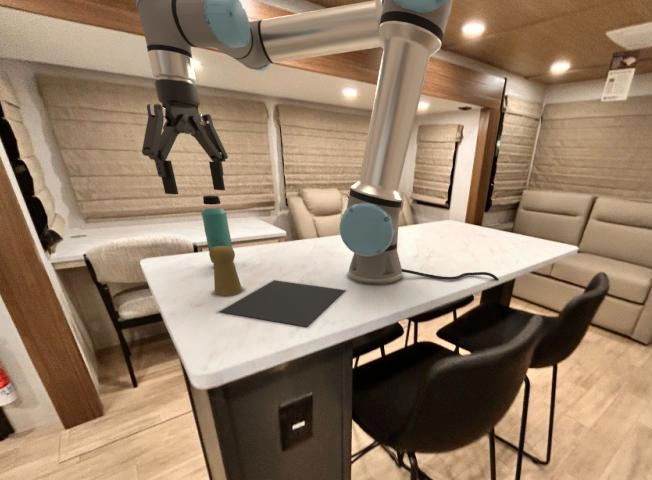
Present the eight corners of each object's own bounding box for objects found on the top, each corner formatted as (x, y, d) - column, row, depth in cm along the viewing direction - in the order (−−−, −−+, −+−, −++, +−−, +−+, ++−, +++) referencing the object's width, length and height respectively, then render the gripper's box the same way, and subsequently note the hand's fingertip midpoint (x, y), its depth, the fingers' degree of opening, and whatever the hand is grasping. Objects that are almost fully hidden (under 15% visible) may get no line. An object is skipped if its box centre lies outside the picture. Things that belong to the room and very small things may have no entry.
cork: (224, 298, 71) (216, 251, 66) (209, 292, 74) (200, 247, 69) (247, 290, 75) (241, 246, 71) (232, 285, 78) (225, 242, 74)
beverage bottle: (239, 263, 95) (229, 195, 87) (227, 270, 89) (215, 197, 81) (219, 261, 95) (207, 193, 87) (206, 268, 89) (191, 196, 81)
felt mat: (344, 290, 78) (344, 290, 78) (306, 327, 60) (306, 326, 60) (274, 281, 82) (274, 280, 82) (219, 312, 64) (219, 311, 64)
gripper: (208, 95, 75) (223, 187, 83) (95, 64, 53) (131, 194, 61) (234, 94, 73) (247, 189, 82) (128, 62, 51) (161, 197, 60)
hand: (197, 192), depth 72 cm, fingers open, 13 cm apart
